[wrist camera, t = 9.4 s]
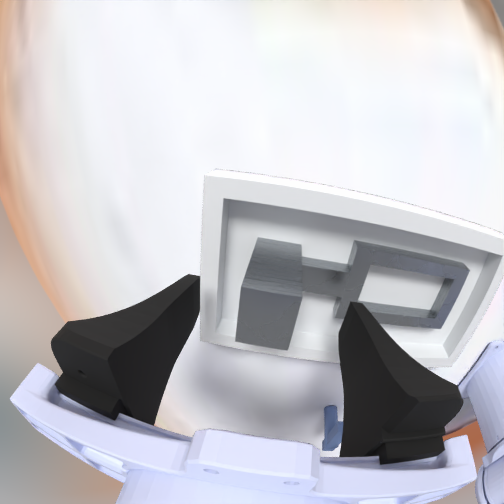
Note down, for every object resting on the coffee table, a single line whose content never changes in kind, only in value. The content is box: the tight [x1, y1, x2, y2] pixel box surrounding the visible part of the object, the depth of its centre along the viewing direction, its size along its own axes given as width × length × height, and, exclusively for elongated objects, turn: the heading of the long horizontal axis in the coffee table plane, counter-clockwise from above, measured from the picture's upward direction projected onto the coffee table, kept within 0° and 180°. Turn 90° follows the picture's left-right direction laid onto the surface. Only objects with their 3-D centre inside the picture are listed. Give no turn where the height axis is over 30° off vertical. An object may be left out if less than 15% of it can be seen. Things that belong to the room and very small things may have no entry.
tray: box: [200, 169, 504, 367], centre depth 15 cm, size 19×10×2 cm, turn 83°
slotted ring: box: [235, 237, 470, 351], centre depth 13 cm, size 13×5×5 cm, turn 83°
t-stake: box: [322, 406, 343, 451], centre depth 20 cm, size 1×4×4 cm, turn 173°
